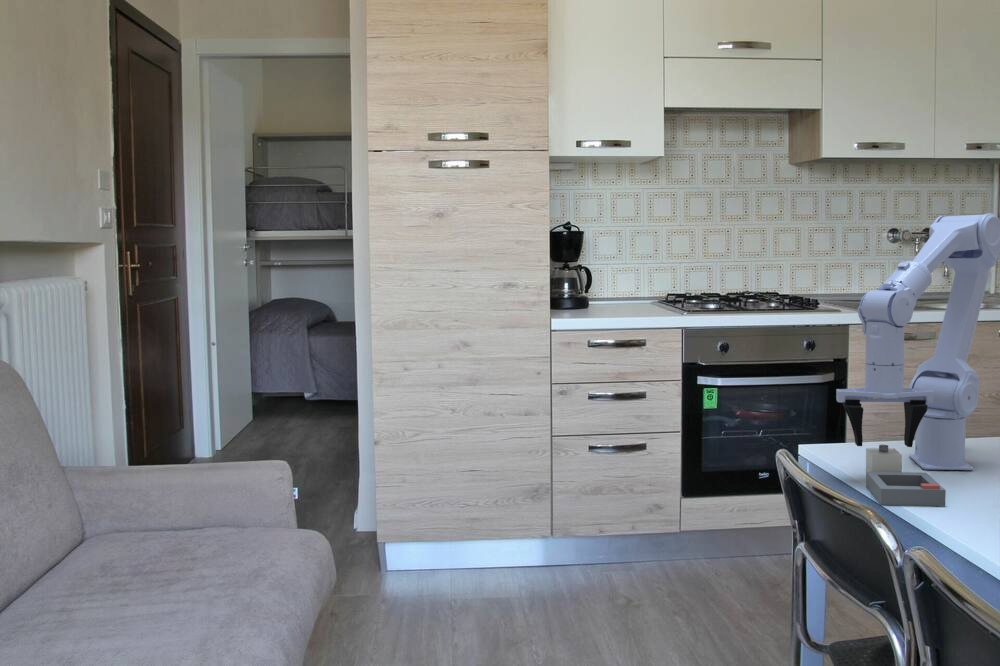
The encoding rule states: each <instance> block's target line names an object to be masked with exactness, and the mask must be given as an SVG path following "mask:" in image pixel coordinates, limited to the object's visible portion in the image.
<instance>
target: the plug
mask: <svg viewBox="0 0 1000 666" xmlns="http://www.w3.org/2000/svg"><path fill="white" fill-rule="evenodd" d="M902 459H903V455H902V453H900V452H899V451H898V450H897V449H896V448H893V447H892V448H889V445H888V444H879V445H878V447H875V448H874V447H866V448H865V473H866V472H903V471H902V466H903V465H902V464H903V461H902Z"/></svg>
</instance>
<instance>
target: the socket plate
mask: <svg viewBox="0 0 1000 666" xmlns="http://www.w3.org/2000/svg"><path fill="white" fill-rule="evenodd" d="M865 487H866V489H867V490H868V491H869V493H870V494H871V495H872V496H873V497H874V499H876V502H878V504H879V505H880V506H907V507H908V506H909V507H910V506H912V507H913V506H914V507H946V495H947V494H946V491H947V490H946V488H944V487H943V486H942V485H941V484H940V483H939V482H937V480H935V479H934V478H933V477H932V476H931V475H930V474H929V473H927V472H923V471H921V472H916V471H915V472H913V471H907V472H906V471H902V472H866V471H865Z"/></svg>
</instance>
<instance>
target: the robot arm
mask: <svg viewBox="0 0 1000 666" xmlns="http://www.w3.org/2000/svg"><path fill="white" fill-rule="evenodd" d="M928 230H929V233H928V235H929V237H928V239H927V241H926V242H925V244H924V245H923V246H922V247H921V249H920V250H919V252H918V253H917V254H916V256H915V257H914V258H913V260H906V261H902V262H901V261H900V262H899V263H898V265H896V269H895V270H893V272H891V274H890V275H889V276H888V278H887V279H886V280H885V281H883V283H882V284H881V285H880V286H879V287H878V288H877V289H871V290H870V291H868V292H866V293H865V294H864V295H863V296H862V298H861V300H860V301H859V307H857V315H858V317H859V321H861V325H862V327H861V329H862V330H861V331H862V332H863V335H865V372H864V373H865V377H864V378H865V384H864V387H860V388H859V387H857V388H836V389H835V390H836V391H835V393H836V395H835V398H836V402H837V403H841V404H842V406H843V409H844V411H845V413H846V414H847V416H848V420H849V422H850V425H851V428H852V432H853V437H854V444H855V445H856V446H857V447H863V441H864V440H863V418H864V417H863V416H864V407H862V403H903V408H904V436H903V440H904V443H903V444H904V445H905V446H906V447H907V448H913V444H914V453H910V454H908V457H909V458H910V459H912V461H914V462H915V463H916V464H917V465H918V466H919V467H920V468H922V469H923V470H940V471H941V470H942V471H943V470H945V471H946V470H947V471H949V470H951V471H952V470H953V471H954V470H955V471H973V470H974V467H973V466H972V465H970V464H969V463H968V462H967V461H966V460H965V459H966V419H967V417H970V416H971V414H972V413H973V412H974V411H975V409H976V408H977V406H978V403H979V402H978V401H979V384H980V383H979V382H980V376H979V375H978V374H977V372H976V371H975V370H974V369H973V368H972V367H971V366H970V365H969V364H968V363H967V362H968V360H969V355H970V352H971V351H970V350H971V347H972V343H973V339H974V336H975V331H976V328H977V323H978V320H979V319H978V318H979V317H980V311H981V308H982V304H983V301H984V297H985V292H986V289H987V288H986V287H987V284H988V281H989V277H990V273H991V269H992V268H993V267H995V266H996V265H997V262H998V258H999V255H1000V219H999V217H998V216H997V215H996V214H995V213H992V212H989V213H985V214H971V215H969V214H968V215H967V214H965V215H950V216H949V215H948V216H947V215H940V216H937V217H936V218H935V220H934V221H933V223H932V224H931V225H930V226H929V229H928ZM943 263H944V265H945V266H946V267H949V268H951V269H952V270H953V271H954V277H953V281H952V286H951V289H950V292H949V297H948V300H947V303H946V308H945V312H944V316H943V319H942V323H941V327H940V330H939V335H938V339H937V343H936V346H935V351H934V355H933V356H932V357H930V358H928V359H927V360H925V361H924V362H922V363H920V364H918V366H917V369H916V373H915V374H914V377H913V378H912V379H911V380H910V383H909V385H908V387H907V388H904V379H905V378H904V377H905V375H904V373H905V371H904V368H905V326H906V325H907V324H909V323H910V322H911V319H912V318H913V315H914V309H915V308H916V305H917V300H918V299H919V298H920V297H921V296H922V295H923V294H924V293H925V291H927V289H928V288H929V286H931V284H932V280H933V279H932V273H933V272H934V271H935V270H937V269H938V267H939V266H940V265H942V264H943ZM914 440H915V441H914Z"/></svg>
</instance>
